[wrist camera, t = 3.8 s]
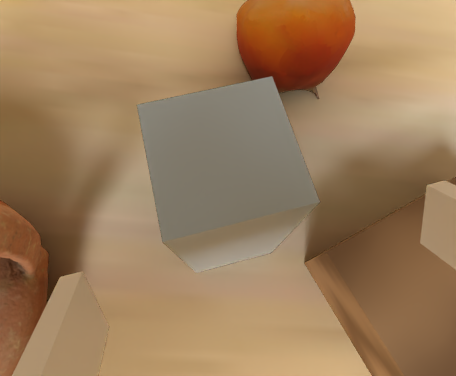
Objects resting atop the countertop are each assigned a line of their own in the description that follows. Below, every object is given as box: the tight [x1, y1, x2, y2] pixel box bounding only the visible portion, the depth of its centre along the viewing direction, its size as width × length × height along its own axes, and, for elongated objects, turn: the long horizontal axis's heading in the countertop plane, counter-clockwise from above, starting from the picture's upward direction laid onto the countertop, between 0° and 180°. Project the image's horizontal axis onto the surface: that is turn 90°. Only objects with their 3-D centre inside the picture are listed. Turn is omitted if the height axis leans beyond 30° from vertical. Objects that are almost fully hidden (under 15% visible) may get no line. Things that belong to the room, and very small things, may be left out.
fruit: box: [237, 0, 355, 99], centre depth 22 cm, size 8×8×8 cm
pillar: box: [137, 76, 320, 273], centre depth 15 cm, size 5×5×11 cm
